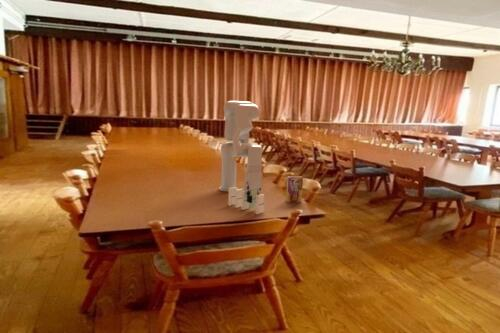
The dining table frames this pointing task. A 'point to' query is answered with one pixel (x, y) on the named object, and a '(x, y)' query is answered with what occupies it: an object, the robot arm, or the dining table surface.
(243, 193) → the domino
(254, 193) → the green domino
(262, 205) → the domino
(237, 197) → the domino
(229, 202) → the domino
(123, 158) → the dining table surface
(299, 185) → the candy box
